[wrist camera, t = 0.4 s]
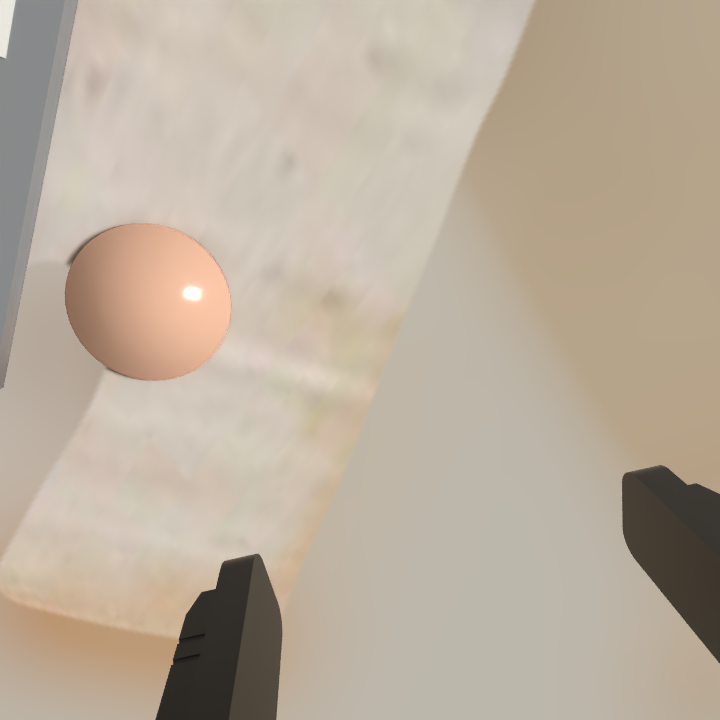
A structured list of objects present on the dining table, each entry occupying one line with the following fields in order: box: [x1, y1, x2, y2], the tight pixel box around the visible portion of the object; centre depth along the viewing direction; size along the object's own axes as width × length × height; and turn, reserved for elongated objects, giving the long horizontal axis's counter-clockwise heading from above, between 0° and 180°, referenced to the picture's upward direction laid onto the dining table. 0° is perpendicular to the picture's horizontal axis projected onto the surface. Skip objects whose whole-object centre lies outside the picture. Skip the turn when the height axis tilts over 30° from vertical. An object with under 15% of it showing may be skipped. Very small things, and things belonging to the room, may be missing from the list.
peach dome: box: [65, 224, 231, 380], centre depth 35 cm, size 11×11×1 cm
